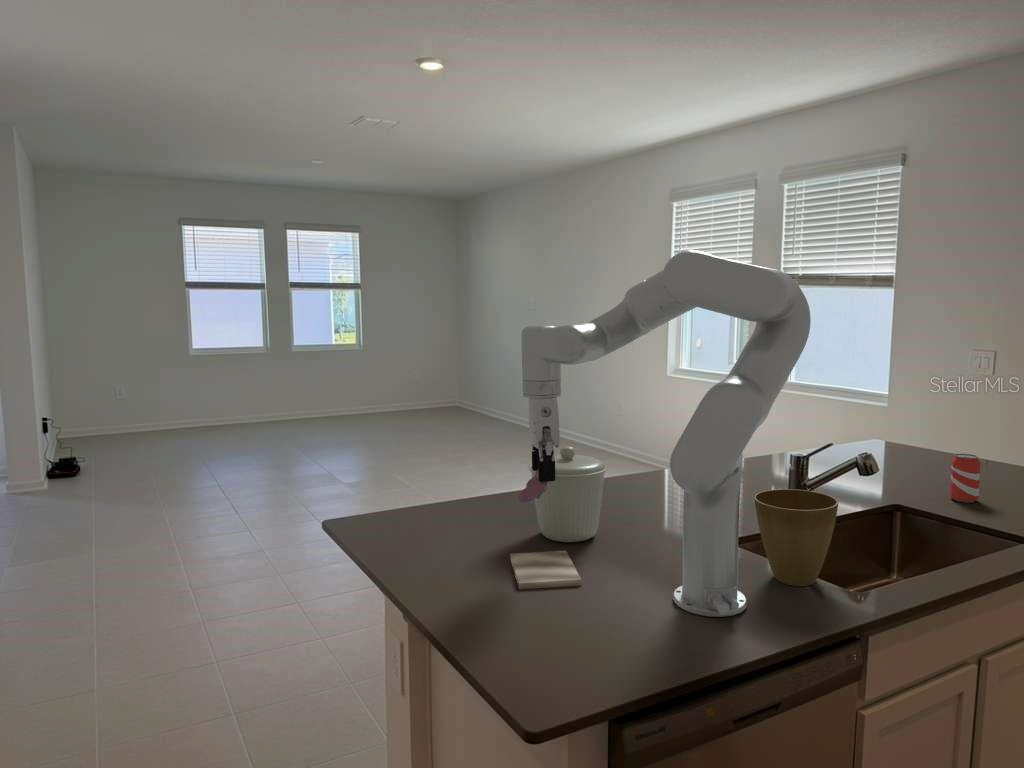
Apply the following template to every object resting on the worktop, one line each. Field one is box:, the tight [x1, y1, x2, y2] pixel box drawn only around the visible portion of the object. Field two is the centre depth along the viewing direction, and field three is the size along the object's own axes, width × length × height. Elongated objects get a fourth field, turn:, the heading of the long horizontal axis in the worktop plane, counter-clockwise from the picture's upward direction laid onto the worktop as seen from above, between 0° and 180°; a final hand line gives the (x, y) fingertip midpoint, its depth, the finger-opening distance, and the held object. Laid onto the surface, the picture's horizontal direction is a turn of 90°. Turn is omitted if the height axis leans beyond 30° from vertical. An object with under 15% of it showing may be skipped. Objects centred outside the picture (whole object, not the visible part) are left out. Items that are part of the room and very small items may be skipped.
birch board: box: [509, 550, 582, 590], centre depth 142 cm, size 16×12×1 cm
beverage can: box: [949, 453, 981, 504], centre depth 186 cm, size 6×6×12 cm
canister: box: [528, 445, 608, 543], centre depth 163 cm, size 18×18×21 cm
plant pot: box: [753, 488, 839, 587], centre depth 136 cm, size 15×15×16 cm
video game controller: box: [518, 470, 549, 503], centre depth 140 cm, size 10×5×7 cm, turn 169°
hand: (543, 475), depth 140 cm, fingers closed on video game controller, 8 cm apart
